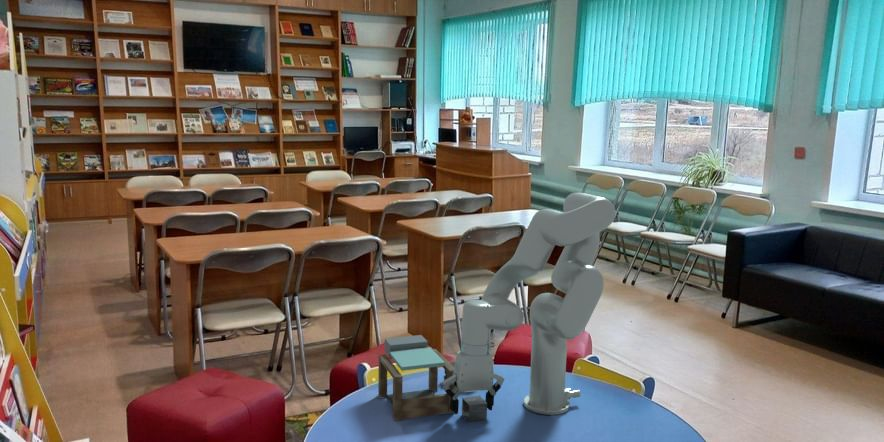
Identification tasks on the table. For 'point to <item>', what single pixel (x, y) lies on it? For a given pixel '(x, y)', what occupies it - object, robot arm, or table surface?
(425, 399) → the frame
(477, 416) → the block
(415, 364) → the grey and green slab
